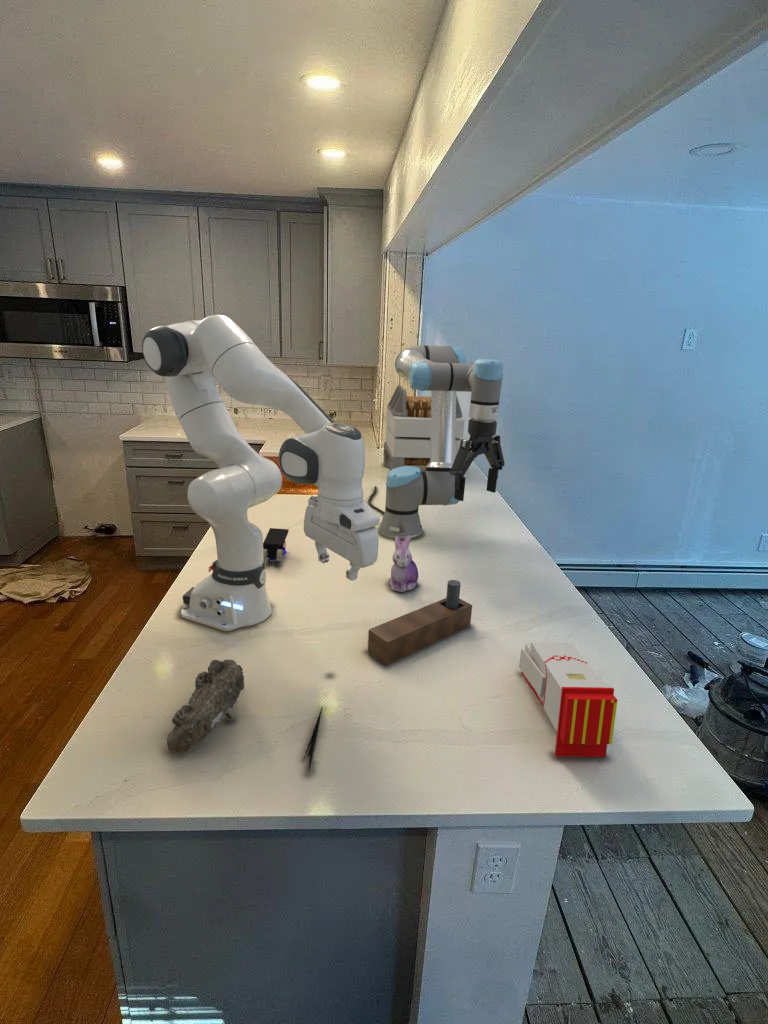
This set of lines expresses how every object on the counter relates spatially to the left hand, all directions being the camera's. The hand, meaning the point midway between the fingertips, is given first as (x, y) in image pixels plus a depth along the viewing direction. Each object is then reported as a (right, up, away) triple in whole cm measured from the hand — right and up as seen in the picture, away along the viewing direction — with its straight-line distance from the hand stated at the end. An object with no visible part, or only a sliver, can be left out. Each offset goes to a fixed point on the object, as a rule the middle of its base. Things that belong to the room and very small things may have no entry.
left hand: (337, 570), depth 117 cm
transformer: (+27, +31, +158) cm, 164 cm away
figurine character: (-24, -3, +60) cm, 64 cm away
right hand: (+35, +17, +41) cm, 57 cm away
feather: (-3, -28, -8) cm, 29 cm away
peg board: (+19, -19, +20) cm, 33 cm away
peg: (+26, -17, +27) cm, 41 cm away
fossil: (-23, -27, -9) cm, 37 cm away
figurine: (+15, -9, +46) cm, 49 cm away
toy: (+45, -28, -2) cm, 53 cm away
